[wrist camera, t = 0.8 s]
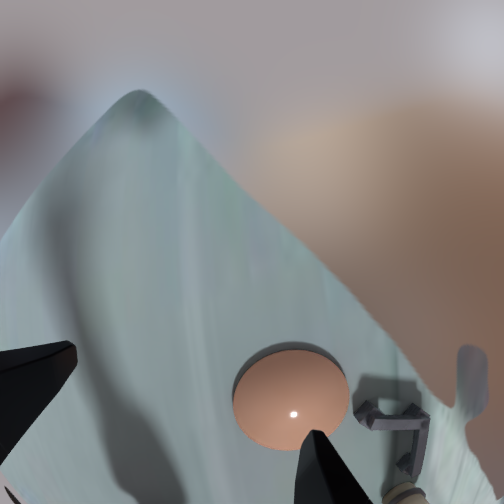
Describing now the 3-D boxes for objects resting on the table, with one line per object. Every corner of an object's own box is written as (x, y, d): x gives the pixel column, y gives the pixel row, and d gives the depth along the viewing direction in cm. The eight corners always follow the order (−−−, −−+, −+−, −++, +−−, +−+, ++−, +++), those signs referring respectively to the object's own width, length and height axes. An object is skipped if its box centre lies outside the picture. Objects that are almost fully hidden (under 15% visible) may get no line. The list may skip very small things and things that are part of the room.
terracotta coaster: (294, 462, 22) (295, 465, 21) (210, 407, 23) (209, 410, 22) (368, 389, 23) (371, 391, 22) (286, 325, 24) (287, 326, 23)
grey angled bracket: (404, 468, 21) (414, 480, 18) (337, 431, 22) (345, 446, 19) (442, 425, 21) (456, 434, 18) (383, 380, 23) (397, 390, 20)
